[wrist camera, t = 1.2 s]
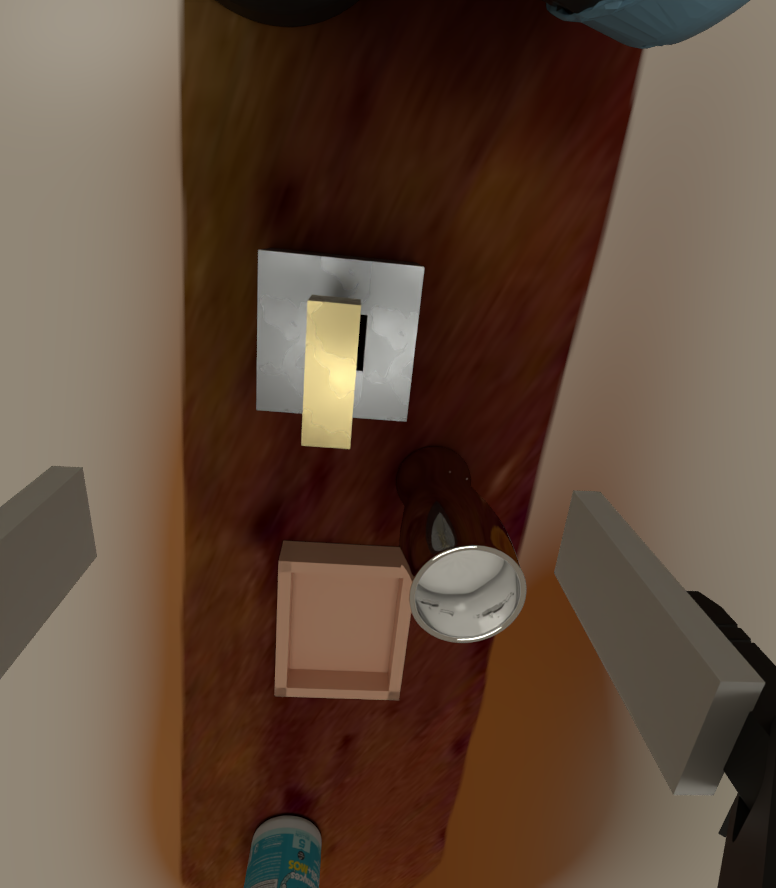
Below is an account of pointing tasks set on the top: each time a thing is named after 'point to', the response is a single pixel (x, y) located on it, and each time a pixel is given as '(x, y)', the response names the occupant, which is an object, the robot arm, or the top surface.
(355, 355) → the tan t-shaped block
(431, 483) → the beer glass
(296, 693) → the pale pink tray
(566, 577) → the robot arm
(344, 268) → the grey square block
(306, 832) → the pill bottle
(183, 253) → the top surface
